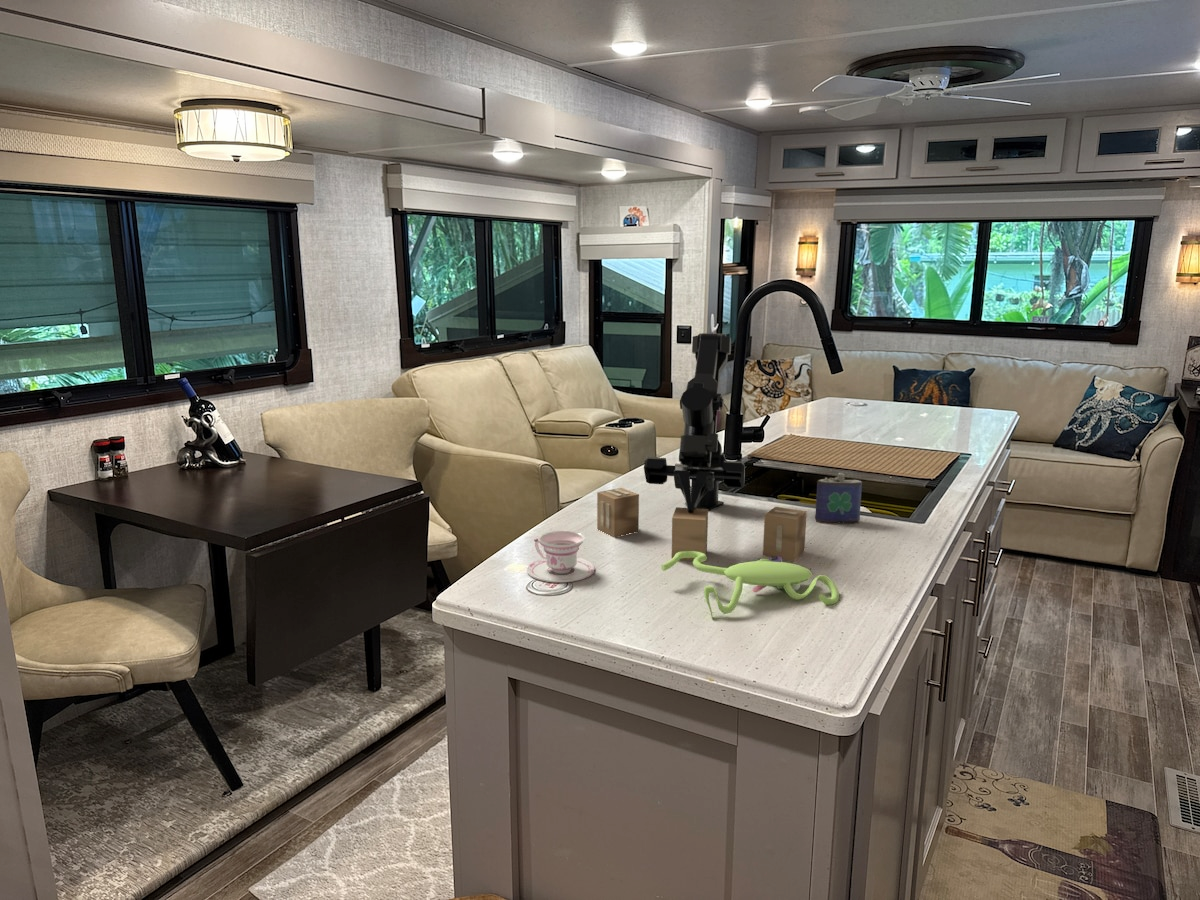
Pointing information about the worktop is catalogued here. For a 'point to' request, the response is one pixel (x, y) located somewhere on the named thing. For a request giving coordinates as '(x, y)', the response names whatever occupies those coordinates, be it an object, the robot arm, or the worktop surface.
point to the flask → (838, 500)
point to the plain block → (689, 531)
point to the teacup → (560, 558)
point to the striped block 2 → (784, 533)
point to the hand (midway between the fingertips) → (690, 511)
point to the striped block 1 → (617, 512)
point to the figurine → (758, 577)
